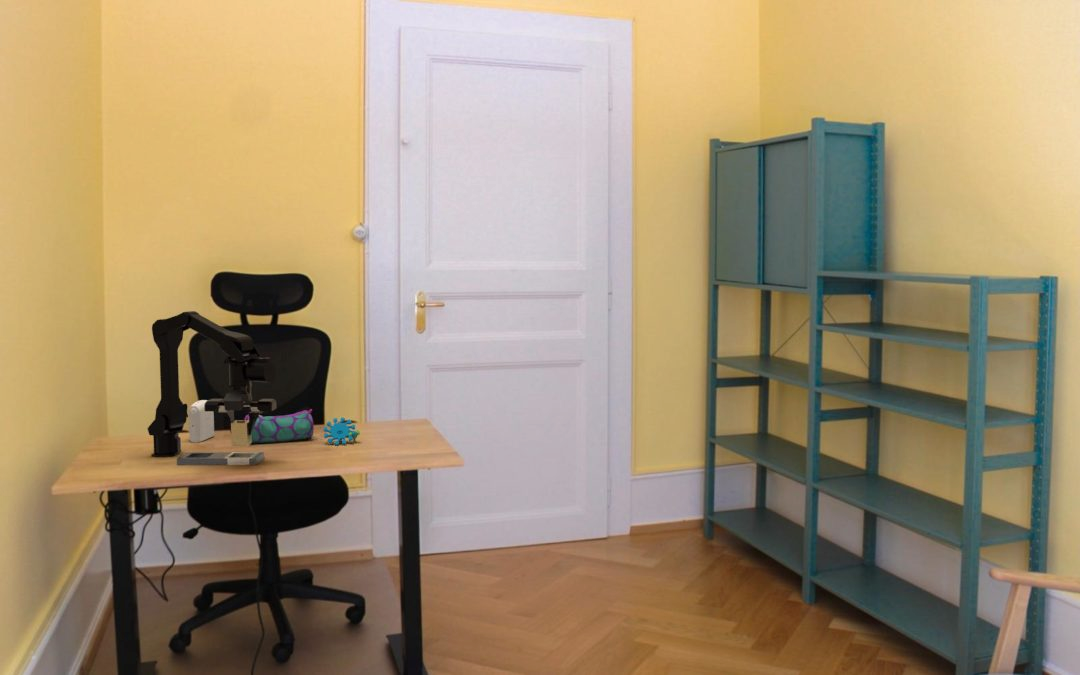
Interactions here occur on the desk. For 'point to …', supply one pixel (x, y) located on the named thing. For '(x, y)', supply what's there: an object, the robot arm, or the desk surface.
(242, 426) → the wooden pull-out drawer
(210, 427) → the photo printer
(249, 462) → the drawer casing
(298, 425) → the pencil case
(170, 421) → the robot arm
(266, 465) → the desk surface
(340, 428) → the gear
